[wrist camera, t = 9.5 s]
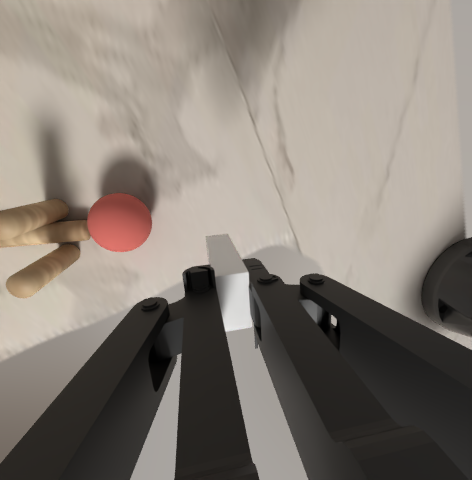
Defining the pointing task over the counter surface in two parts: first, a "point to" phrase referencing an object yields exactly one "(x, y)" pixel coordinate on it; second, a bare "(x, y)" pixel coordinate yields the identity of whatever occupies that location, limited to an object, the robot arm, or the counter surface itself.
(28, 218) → the pin
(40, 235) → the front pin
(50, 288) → the counter surface
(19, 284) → the pin
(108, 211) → the ball
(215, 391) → the robot arm
